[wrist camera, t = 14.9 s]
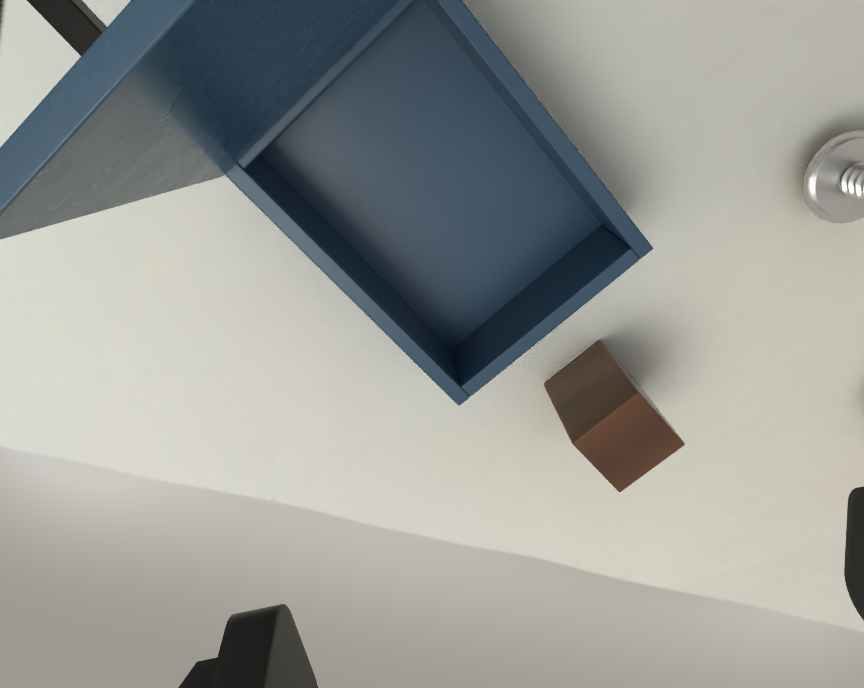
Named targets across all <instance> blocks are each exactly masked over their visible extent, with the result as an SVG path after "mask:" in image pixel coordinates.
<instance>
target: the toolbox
mask: <svg viewBox="0 0 864 688" xmlns="http://www.w3.org/2000/svg"><path fill="white" fill-rule="evenodd" d="M225 175H226V176H227V177H228V178H229V179H230V180H231V181H232V182H233V183H234V184H235V185H236V186H237V187H238V188H239V189H240V190H241V191H242V192H243V193H244V194H245V195H246V196H247V197H248V198H249V199H250V200H251V201H252V202H253V203H254V204H255V205H256V206H257V207H258V208H259V209H260V210H261V211H262V212H263V213H264V214H265V215H266V216H267V217H268V218H269V219H270V220H271V221H272V222H273V223H274V224H275V225H276V226H277V227H278V228H279V229H280V230H282V231H283V232H284V233H285V234H286V235H287V236H288V237H289V238H290V239H291V240H292V241H293V242H294V243H295V244H296V245H297V246H298V247H299V248H300V249H301V250H302V251H303V252H304V253H305V254H306V255H307V256H308V257H309V258H310V259H311V260H312V261H313V262H314V263H315V264H316V265H317V266H318V267H319V268H320V269H321V270H322V271H323V272H324V273H325V274H326V275H327V276H328V277H329V278H330V279H331V280H332V281H333V282H334V283H335V284H336V285H337V286H338V287H339V288H340V289H341V290H342V291H343V292H344V293H345V294H346V295H347V296H348V297H349V298H350V299H351V300H352V301H353V302H354V303H355V304H356V305H357V306H358V307H359V308H360V309H361V310H362V311H363V312H364V313H365V314H366V315H368V316H369V317H370V318H371V319H372V320H373V321H374V322H375V323H376V324H377V325H378V326H379V327H380V328H381V329H382V330H383V331H384V332H385V333H386V334H387V335H388V336H389V337H390V338H391V339H392V340H393V341H394V342H395V343H396V344H397V345H398V346H399V347H400V348H401V349H402V350H403V351H404V352H405V353H406V354H407V355H408V356H409V357H410V358H411V359H412V360H413V361H414V362H415V363H416V364H417V365H418V366H419V367H420V368H421V369H422V370H423V371H424V372H425V373H426V374H427V375H428V376H429V377H430V378H431V379H432V380H433V381H434V382H435V383H436V384H437V385H438V386H439V387H440V388H441V389H442V390H443V391H444V392H445V393H446V394H447V395H448V396H449V397H450V398H451V399H453V400H454V401H455V402H456V403H457V404H458V405H461V404H462V403H463V402H464V401H466V400H467V399H468V398H469V397H470V396H472V395H473V394H474V393H475V392H477V391H478V390H479V389H480V388H482V387H483V386H484V385H485V384H487V383H488V382H489V381H490V380H492V379H493V378H494V377H495V376H496V375H498V374H499V373H500V372H501V371H503V370H504V369H505V368H506V367H508V366H509V365H510V364H511V363H513V362H514V361H515V360H516V359H517V358H519V357H520V356H521V355H522V354H524V353H525V352H526V351H527V350H529V349H530V348H531V347H532V346H534V345H535V344H536V343H537V342H538V341H540V340H541V339H542V338H543V337H545V336H546V335H547V334H548V333H550V332H551V331H552V330H553V329H555V328H556V327H557V326H558V325H559V324H561V323H562V322H563V321H564V320H566V319H567V318H568V317H569V316H571V315H572V314H573V313H574V312H576V311H577V310H578V309H579V308H580V307H582V306H583V305H584V304H585V303H587V302H588V301H589V300H590V299H592V298H593V297H594V296H595V295H597V294H598V293H599V292H600V291H601V290H603V289H604V288H605V287H606V286H608V285H609V284H610V283H611V282H613V281H614V280H615V279H616V278H618V277H619V276H620V275H621V274H622V273H624V272H625V271H626V270H627V269H629V268H630V267H631V266H632V265H634V264H635V263H636V262H637V261H639V258H640V259H641V258H642V257H643V256H645V255H646V254H647V253H648V252H650V251H651V250H652V249H653V247H652V246H651V245H650V243H649V242H648V241H647V240H646V238H645V237H644V236H643V234H642V233H641V232H640V230H639V229H638V228H637V227H636V225H635V224H634V223H633V221H632V220H631V219H630V218H629V216H628V215H627V214H626V212H625V211H624V210H623V208H622V207H621V206H620V205H619V203H618V202H617V201H616V199H615V198H614V197H613V196H612V194H611V193H610V192H609V190H608V189H607V188H606V187H605V185H604V184H603V183H602V181H601V180H600V179H599V177H598V176H597V175H596V174H595V172H594V171H593V170H592V168H591V167H590V166H589V165H588V163H587V162H586V161H585V159H584V158H583V157H582V156H581V154H580V153H579V152H578V150H577V149H576V148H575V146H574V145H573V144H572V143H571V141H570V140H569V139H568V137H567V136H566V135H565V134H564V132H563V131H562V130H561V128H560V127H559V126H558V125H557V123H556V122H555V121H554V119H553V118H552V117H551V115H550V114H549V113H548V112H547V110H546V109H545V108H544V106H543V105H542V104H541V103H540V101H539V100H538V99H537V97H536V96H535V95H534V93H533V92H532V91H531V90H530V88H529V87H528V86H527V84H526V83H525V82H524V81H523V79H522V78H521V77H520V75H519V74H518V73H517V72H516V70H515V69H514V68H513V66H512V65H511V64H510V62H509V61H508V60H507V59H506V57H505V56H504V55H503V53H502V52H501V51H500V50H499V48H498V47H497V46H496V44H495V43H494V42H493V41H492V39H491V38H490V37H489V35H488V34H487V33H486V31H485V30H484V29H483V28H482V26H481V25H480V24H479V22H478V21H477V20H476V19H475V17H474V16H473V15H472V13H471V12H470V11H469V10H468V8H467V7H466V6H465V4H464V3H463V2H462V0H399V1H398V2H397V3H396V4H395V5H394V6H393V7H392V8H391V9H390V10H389V11H388V12H387V13H386V14H385V15H384V16H383V17H382V18H381V19H380V20H379V21H378V22H377V23H376V24H375V25H374V26H373V27H372V28H371V29H370V30H369V31H368V32H367V33H366V34H365V35H364V36H363V37H362V38H361V39H360V40H359V41H358V42H357V43H356V44H355V45H354V46H353V47H352V48H351V49H350V50H349V51H348V52H347V53H346V54H345V55H344V56H343V57H342V58H341V59H340V60H339V61H338V62H337V63H336V64H335V65H334V66H333V67H332V68H331V69H330V70H329V71H328V72H327V73H326V74H325V75H324V76H323V77H322V78H321V79H320V80H319V81H318V82H317V83H316V84H315V85H314V86H313V87H312V88H311V89H310V90H309V91H308V92H307V93H306V94H305V95H304V96H303V97H302V98H301V99H300V100H299V101H298V102H297V103H296V104H295V105H294V106H293V107H292V108H291V109H290V110H289V111H288V112H287V113H286V114H285V115H284V116H283V117H282V118H281V119H280V120H279V121H278V122H277V123H276V124H275V125H274V126H273V127H272V128H271V129H270V130H269V131H268V132H267V133H266V134H265V135H264V136H263V137H262V138H261V139H260V140H259V141H258V142H257V143H256V144H255V145H254V146H253V147H252V148H251V149H250V150H249V151H248V152H247V153H246V154H245V155H244V156H243V157H242V158H241V159H240V160H239V161H238V162H237V163H236V164H235V165H234V166H233V167H232V168H231V169H230V170H229V171H228V172H227V173H226V174H225Z"/></svg>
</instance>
